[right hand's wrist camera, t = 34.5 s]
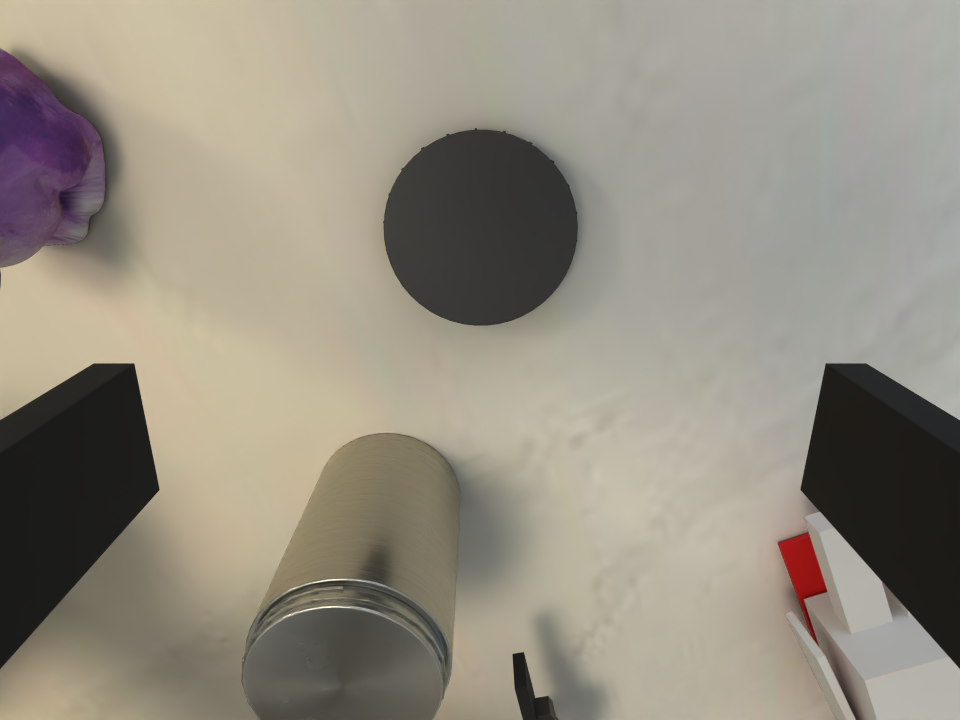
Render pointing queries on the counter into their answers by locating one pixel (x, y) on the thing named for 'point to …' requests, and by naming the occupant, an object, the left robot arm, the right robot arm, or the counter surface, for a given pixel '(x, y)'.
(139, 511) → the right robot arm
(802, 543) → the toy
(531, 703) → the left robot arm
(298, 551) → the jar
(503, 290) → the lid
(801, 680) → the counter surface
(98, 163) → the figurine
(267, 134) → the counter surface
